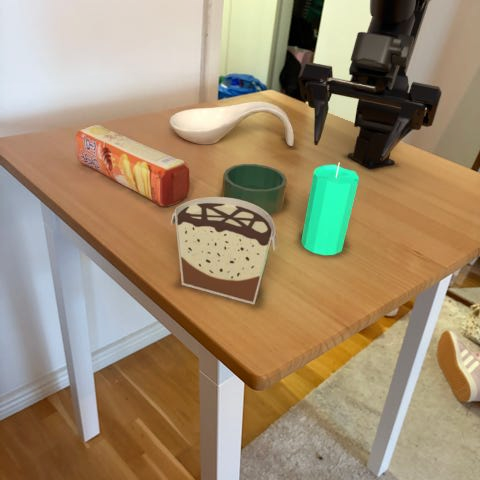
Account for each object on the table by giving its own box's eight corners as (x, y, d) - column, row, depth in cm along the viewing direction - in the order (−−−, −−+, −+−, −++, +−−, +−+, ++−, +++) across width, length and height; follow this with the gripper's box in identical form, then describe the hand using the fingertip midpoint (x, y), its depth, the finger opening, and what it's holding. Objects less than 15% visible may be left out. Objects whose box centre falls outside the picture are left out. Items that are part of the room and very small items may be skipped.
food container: (280, 280, 67) (291, 209, 61) (266, 308, 62) (277, 233, 56) (190, 257, 69) (192, 186, 63) (170, 281, 65) (170, 207, 58)
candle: (332, 260, 72) (352, 177, 64) (293, 245, 74) (307, 163, 66) (349, 242, 76) (369, 162, 68) (312, 228, 78) (327, 149, 70)
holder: (261, 183, 88) (263, 160, 86) (295, 208, 82) (299, 184, 80) (211, 193, 84) (212, 169, 82) (243, 220, 78) (245, 195, 76)
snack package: (74, 165, 88) (69, 125, 83) (106, 156, 92) (103, 116, 88) (160, 213, 78) (160, 170, 73) (192, 200, 82) (194, 158, 77)
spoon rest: (169, 149, 96) (169, 109, 92) (169, 126, 105) (169, 88, 101) (296, 155, 99) (302, 116, 95) (286, 132, 108) (291, 95, 104)
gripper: (314, -8, 67) (274, 105, 66) (465, 16, 62) (425, 137, 61) (320, 49, 78) (285, 146, 77) (449, 73, 73) (415, 177, 72)
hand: (348, 151), depth 71 cm, fingers open, 9 cm apart
